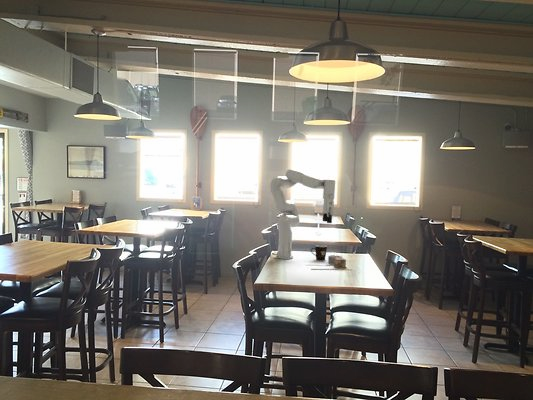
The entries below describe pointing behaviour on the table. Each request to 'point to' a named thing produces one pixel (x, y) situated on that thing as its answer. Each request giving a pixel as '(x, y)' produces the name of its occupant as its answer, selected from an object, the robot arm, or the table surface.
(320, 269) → the lane
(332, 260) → the dome ring
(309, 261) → the table surface
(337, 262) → the die
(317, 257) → the coffee mug
